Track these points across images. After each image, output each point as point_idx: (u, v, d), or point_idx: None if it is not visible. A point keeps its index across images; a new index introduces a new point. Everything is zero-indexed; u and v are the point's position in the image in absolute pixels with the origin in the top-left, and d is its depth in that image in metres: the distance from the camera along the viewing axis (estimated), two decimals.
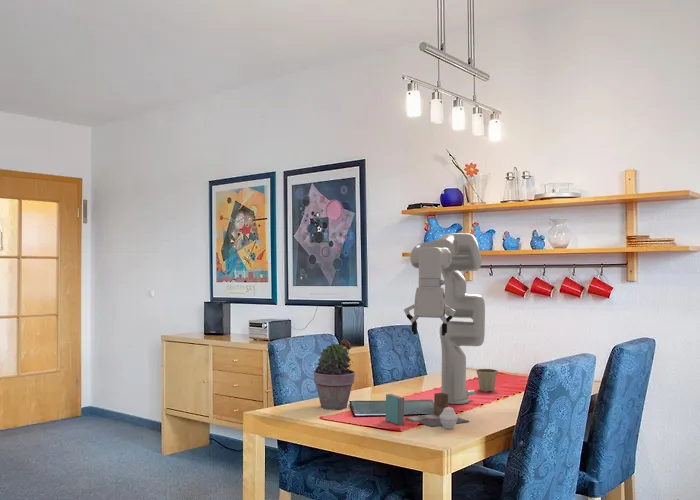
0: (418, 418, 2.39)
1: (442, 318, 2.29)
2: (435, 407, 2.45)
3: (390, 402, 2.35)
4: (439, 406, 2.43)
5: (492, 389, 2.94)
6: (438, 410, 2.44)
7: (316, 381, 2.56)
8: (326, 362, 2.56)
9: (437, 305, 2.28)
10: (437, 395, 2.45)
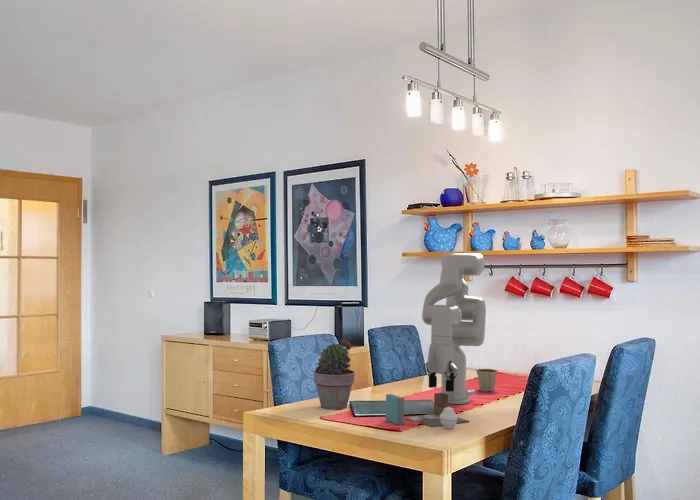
0: (418, 418, 2.39)
1: None
2: (435, 407, 2.45)
3: (390, 402, 2.35)
4: (439, 406, 2.43)
5: (492, 389, 2.94)
6: (438, 410, 2.44)
7: (316, 381, 2.56)
8: (326, 362, 2.56)
9: None
10: (437, 395, 2.45)
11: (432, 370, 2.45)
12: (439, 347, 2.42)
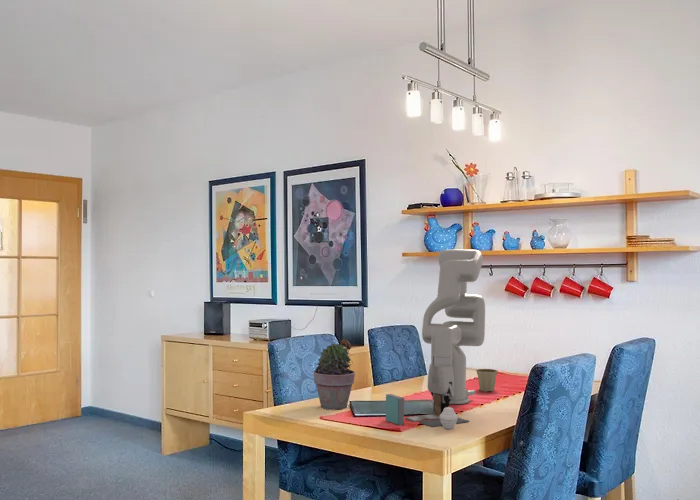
0: (418, 418, 2.39)
1: None
2: (435, 407, 2.45)
3: (390, 402, 2.35)
4: (439, 406, 2.43)
5: (492, 389, 2.94)
6: (438, 410, 2.44)
7: (316, 381, 2.56)
8: (326, 362, 2.56)
9: None
10: (437, 395, 2.45)
11: (432, 390, 2.45)
12: (439, 368, 2.42)
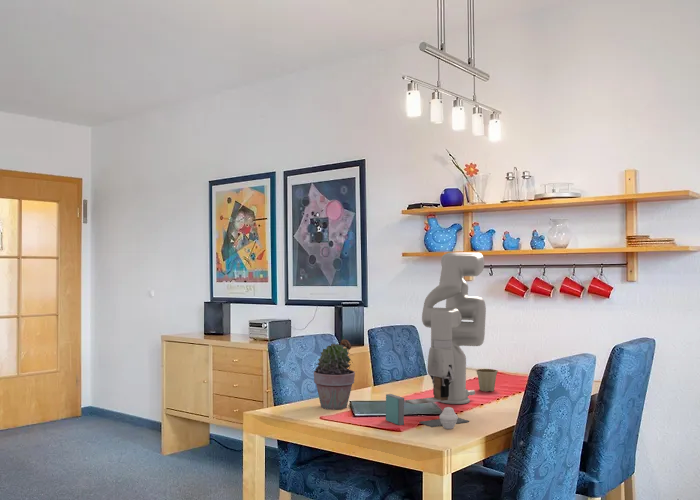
0: (418, 401, 2.39)
1: None
2: (435, 390, 2.45)
3: (390, 402, 2.35)
4: (439, 389, 2.44)
5: (492, 389, 2.94)
6: (438, 393, 2.44)
7: (316, 381, 2.56)
8: (326, 362, 2.56)
9: None
10: (437, 378, 2.45)
11: (432, 373, 2.45)
12: (439, 351, 2.42)
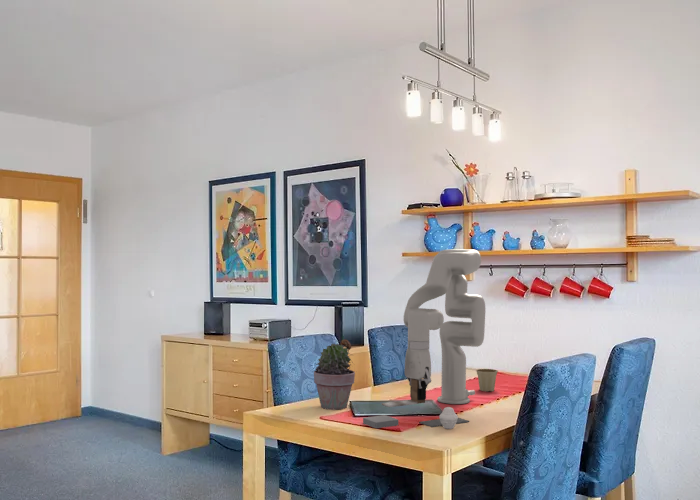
0: (394, 404, 2.34)
1: None
2: (412, 393, 2.40)
3: None
4: (416, 392, 2.38)
5: (492, 389, 2.94)
6: (415, 396, 2.39)
7: (316, 381, 2.56)
8: (326, 362, 2.56)
9: None
10: (414, 380, 2.39)
11: (409, 375, 2.40)
12: (416, 353, 2.37)
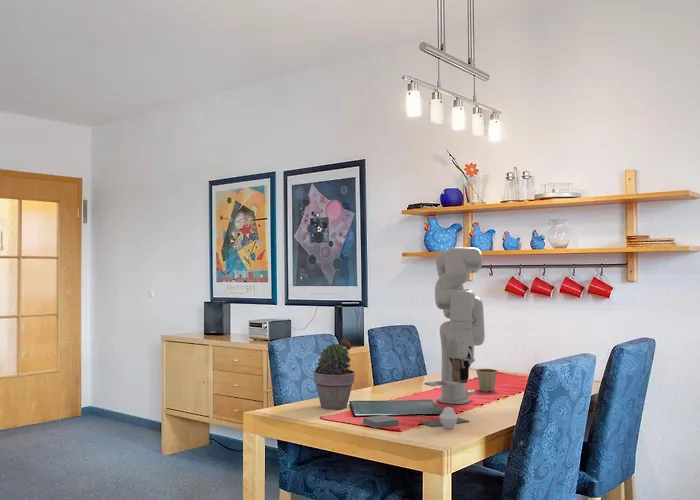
0: (437, 383, 2.33)
1: None
2: (454, 373, 2.40)
3: None
4: (458, 371, 2.38)
5: (492, 389, 2.94)
6: (458, 376, 2.38)
7: (316, 381, 2.56)
8: (326, 362, 2.56)
9: None
10: (456, 360, 2.39)
11: (451, 355, 2.40)
12: (459, 332, 2.37)
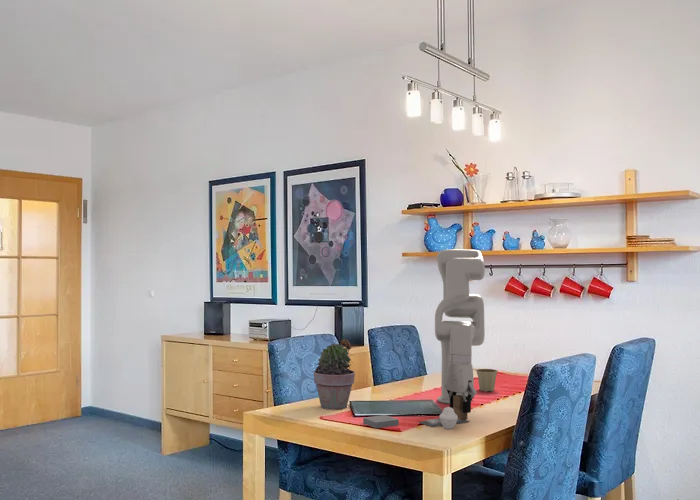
0: (437, 421, 2.33)
1: None
2: (454, 409, 2.40)
3: None
4: (458, 408, 2.38)
5: (492, 389, 2.94)
6: (458, 412, 2.38)
7: (316, 381, 2.56)
8: (326, 362, 2.56)
9: None
10: (456, 397, 2.39)
11: (451, 389, 2.40)
12: (458, 366, 2.37)
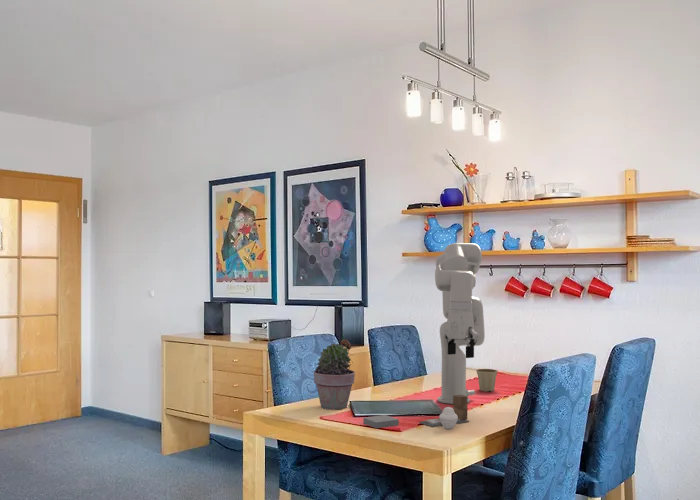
0: (437, 421, 2.33)
1: None
2: (454, 409, 2.40)
3: None
4: (458, 408, 2.38)
5: (492, 389, 2.94)
6: (458, 412, 2.38)
7: (316, 381, 2.56)
8: (326, 362, 2.56)
9: None
10: (456, 397, 2.39)
11: (451, 336, 2.40)
12: (459, 313, 2.37)
